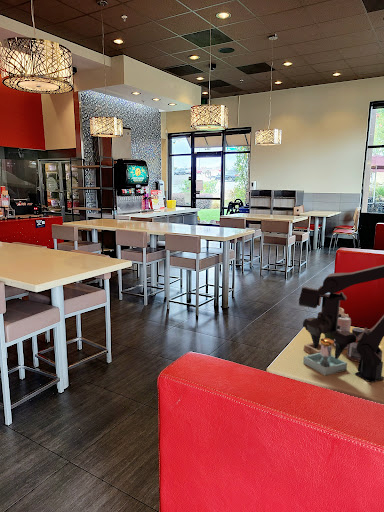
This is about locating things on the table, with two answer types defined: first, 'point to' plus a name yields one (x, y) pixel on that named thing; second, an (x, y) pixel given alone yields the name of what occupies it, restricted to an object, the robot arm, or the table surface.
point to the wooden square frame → (312, 348)
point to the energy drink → (344, 325)
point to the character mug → (341, 311)
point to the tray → (313, 362)
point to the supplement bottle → (354, 346)
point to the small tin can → (325, 352)
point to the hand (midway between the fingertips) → (325, 353)
